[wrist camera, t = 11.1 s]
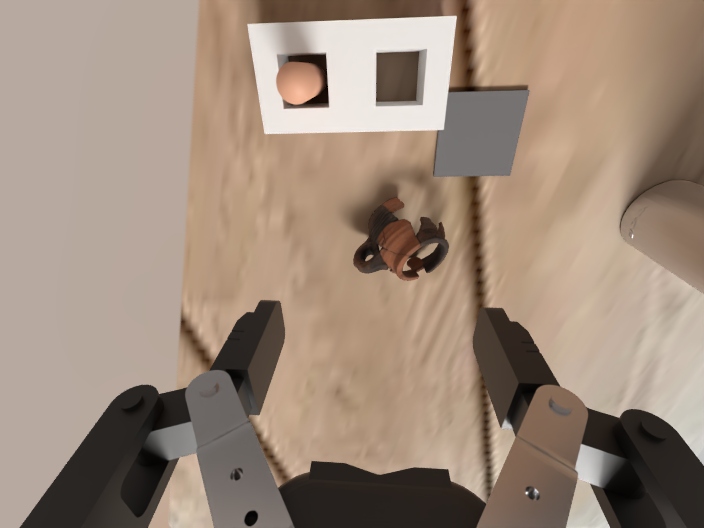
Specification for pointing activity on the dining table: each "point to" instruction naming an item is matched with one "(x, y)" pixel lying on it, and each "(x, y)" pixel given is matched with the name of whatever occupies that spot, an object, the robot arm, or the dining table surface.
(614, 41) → the dining table surface
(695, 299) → the dining table surface
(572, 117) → the dining table surface
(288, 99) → the dowel
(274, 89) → the socket block
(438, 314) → the dining table surface
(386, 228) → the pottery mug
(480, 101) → the mat
